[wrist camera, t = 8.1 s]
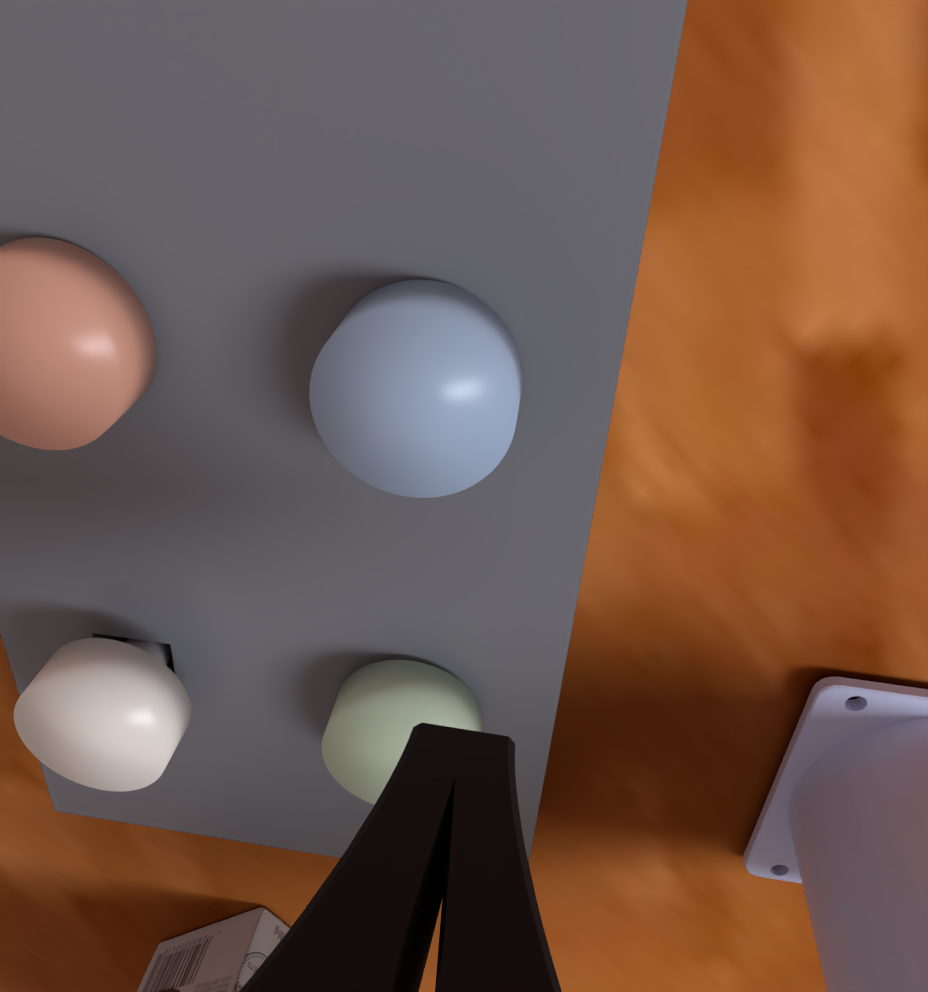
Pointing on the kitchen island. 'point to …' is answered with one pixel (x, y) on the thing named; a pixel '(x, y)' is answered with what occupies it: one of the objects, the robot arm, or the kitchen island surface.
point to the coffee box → (215, 955)
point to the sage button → (389, 720)
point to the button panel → (296, 345)
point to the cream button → (105, 713)
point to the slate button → (418, 389)
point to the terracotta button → (67, 345)
